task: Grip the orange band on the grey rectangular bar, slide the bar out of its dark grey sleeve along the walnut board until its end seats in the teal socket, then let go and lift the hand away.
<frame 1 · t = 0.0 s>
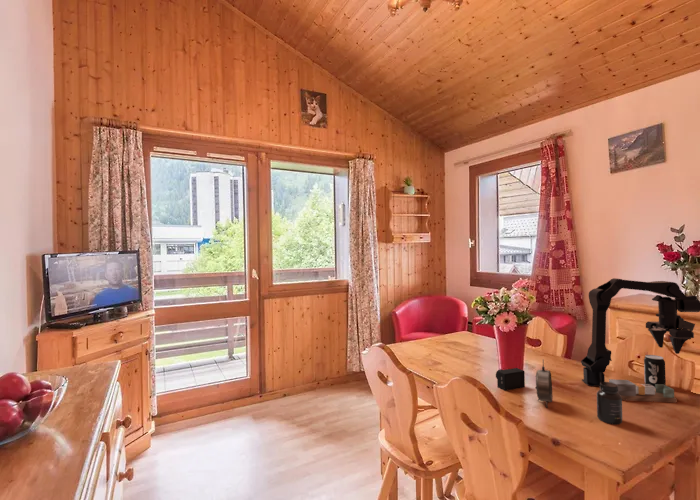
hand: (668, 350, 145), 15 cm above the table, tool pointing down, fingers open, 9 cm apart
beverage can: (655, 386, 146), on the table
alarm clock: (544, 403, 132), on the table
grey rectangular bar: (633, 388, 135), point 3 cm above the table, slide at 0.0 cm
tube stand: (640, 397, 134), on the table
supplement bottle: (609, 420, 118), on the table
digital camera: (510, 387, 148), on the table
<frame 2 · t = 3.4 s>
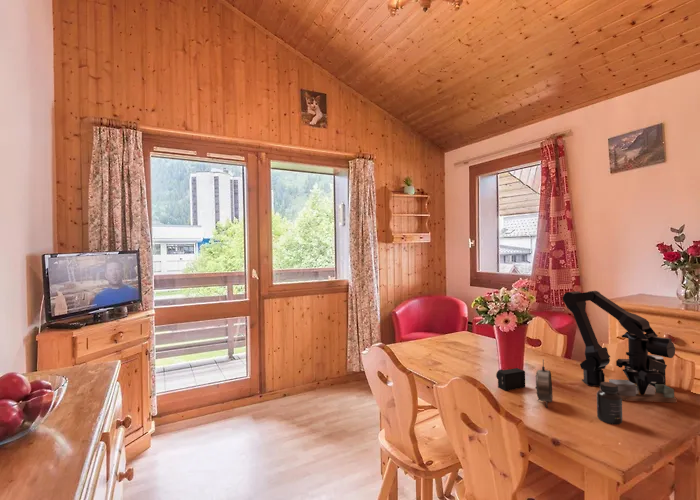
hand: (639, 392, 135), 2 cm above the table, tool pointing down, fingers closed on grey rectangular bar, 3 cm apart
grey rectangular bar: (633, 388, 135), point 3 cm above the table, slide at 0.0 cm, touching gripper
everything else where it was.
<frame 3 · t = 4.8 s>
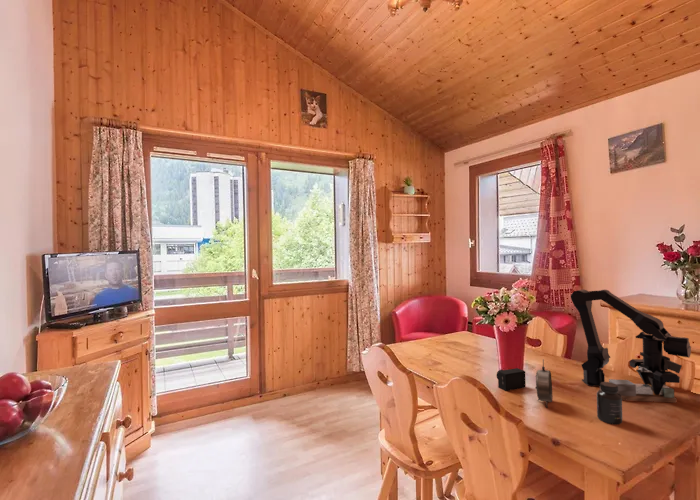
hand: (653, 393, 134), 2 cm above the table, tool pointing down, fingers closed on grey rectangular bar, 3 cm apart
grey rectangular bar: (647, 389, 134), point 3 cm above the table, slide at 4.8 cm, touching gripper
everything else where it was.
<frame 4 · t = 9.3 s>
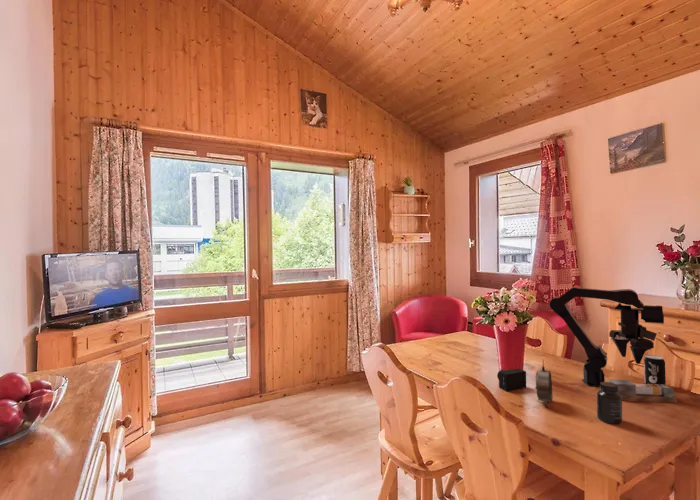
hand: (630, 360, 142), 12 cm above the table, tool pointing down, fingers open, 9 cm apart
grey rectangular bar: (647, 389, 134), point 3 cm above the table, slide at 4.8 cm
everything else where it was.
at the end: grey rectangular bar slide at 4.8 cm; the gripper is holding nothing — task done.
